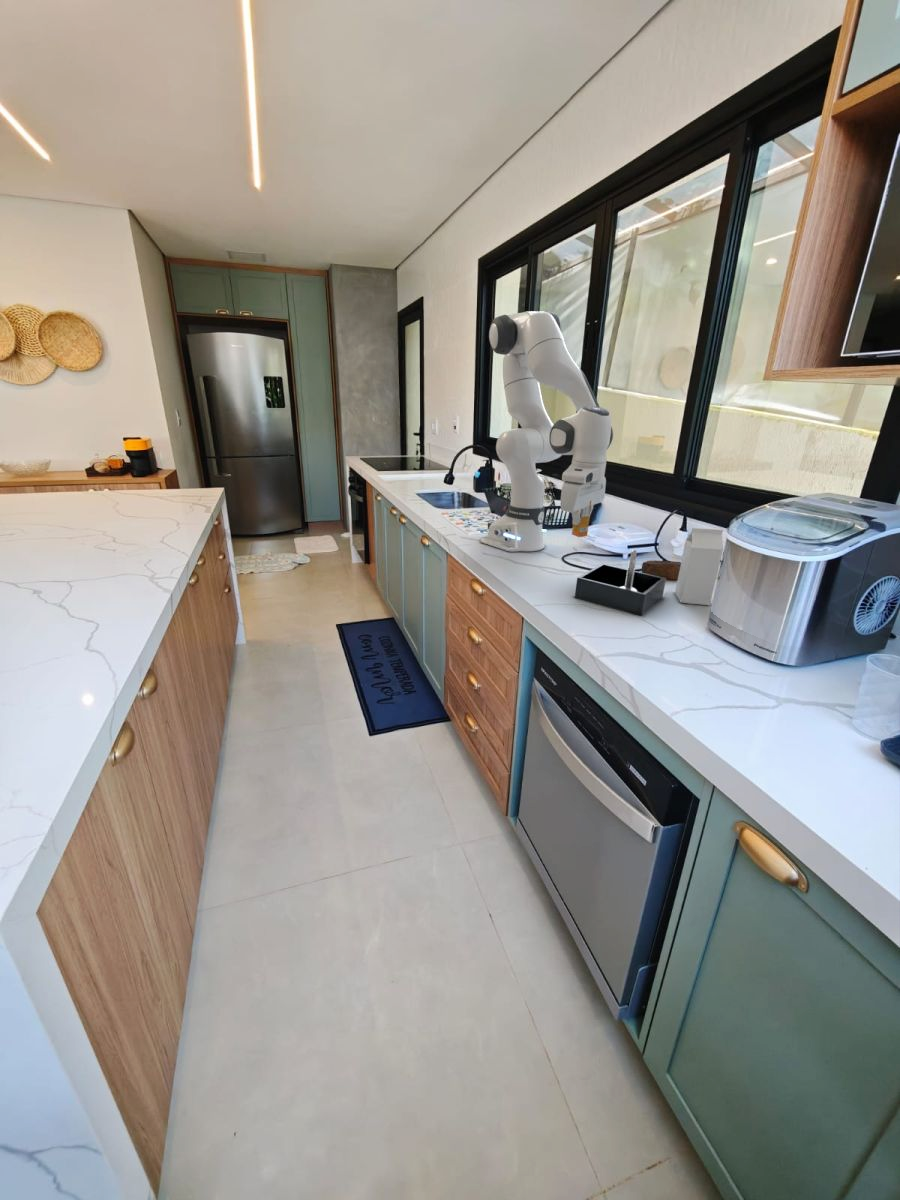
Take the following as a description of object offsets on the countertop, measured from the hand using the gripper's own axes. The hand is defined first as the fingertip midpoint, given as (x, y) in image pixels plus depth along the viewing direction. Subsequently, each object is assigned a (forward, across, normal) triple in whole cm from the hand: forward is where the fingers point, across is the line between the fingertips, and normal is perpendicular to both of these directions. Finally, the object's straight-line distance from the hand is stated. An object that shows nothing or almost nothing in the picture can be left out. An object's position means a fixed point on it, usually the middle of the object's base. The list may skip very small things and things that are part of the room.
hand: (580, 522), depth 139 cm
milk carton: (+16, -6, +31) cm, 35 cm away
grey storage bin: (+16, +6, +16) cm, 23 cm away
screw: (+16, +6, +18) cm, 25 cm away
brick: (+16, -18, +19) cm, 31 cm away
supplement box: (+4, 0, 0) cm, 4 cm away
